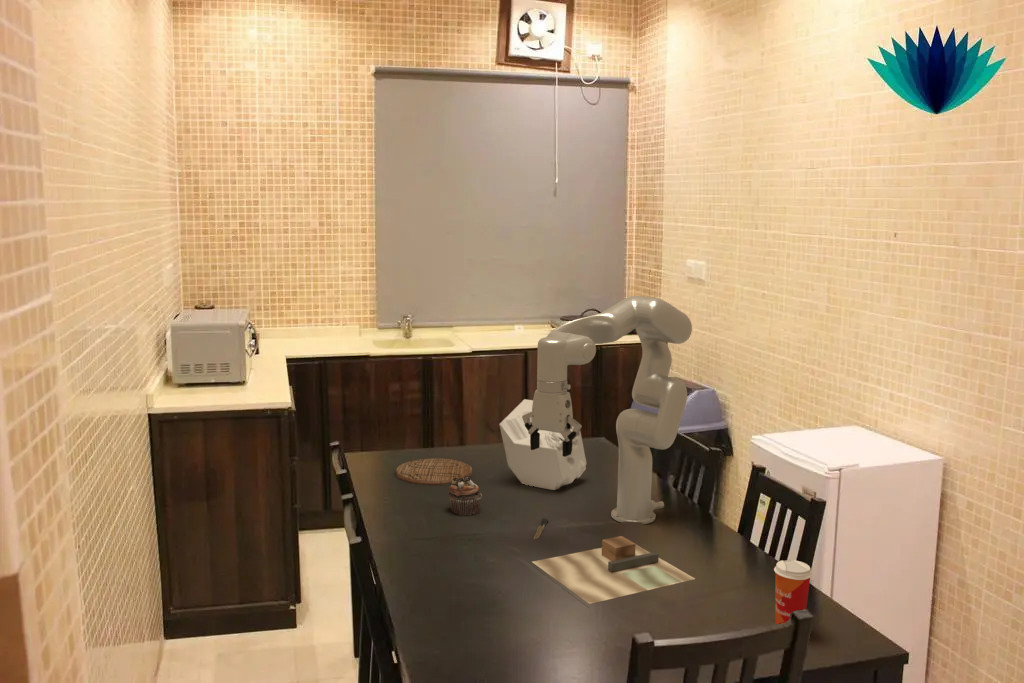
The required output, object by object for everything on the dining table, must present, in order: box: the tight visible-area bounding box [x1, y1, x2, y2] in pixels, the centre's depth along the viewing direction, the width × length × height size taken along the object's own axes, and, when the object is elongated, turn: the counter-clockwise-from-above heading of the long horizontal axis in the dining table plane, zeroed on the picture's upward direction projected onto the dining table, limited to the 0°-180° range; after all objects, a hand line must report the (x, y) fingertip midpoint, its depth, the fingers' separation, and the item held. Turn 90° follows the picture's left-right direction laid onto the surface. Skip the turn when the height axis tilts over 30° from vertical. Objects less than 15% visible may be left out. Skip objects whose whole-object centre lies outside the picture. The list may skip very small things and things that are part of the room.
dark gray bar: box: [608, 551, 660, 572], centre depth 215 cm, size 14×2×2 cm, turn 118°
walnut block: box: [601, 535, 637, 561], centre depth 221 cm, size 6×6×4 cm
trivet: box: [396, 458, 473, 486], centre depth 291 cm, size 25×25×2 cm
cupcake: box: [448, 476, 483, 516], centre depth 255 cm, size 10×10×10 cm
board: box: [532, 544, 696, 609], centre depth 213 cm, size 30×26×1 cm
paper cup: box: [773, 559, 813, 625], centre depth 186 cm, size 8×8×14 cm
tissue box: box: [498, 398, 588, 491], centre depth 279 cm, size 20×16×25 cm
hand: (550, 452), depth 224 cm, fingers open, 9 cm apart
